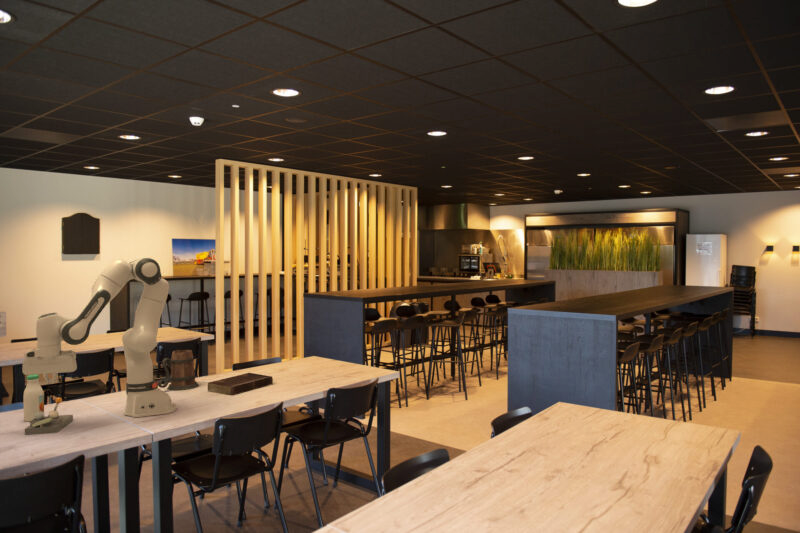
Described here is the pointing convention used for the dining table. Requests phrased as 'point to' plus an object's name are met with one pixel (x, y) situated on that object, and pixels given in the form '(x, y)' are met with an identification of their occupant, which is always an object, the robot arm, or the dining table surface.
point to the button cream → (53, 414)
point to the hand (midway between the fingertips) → (50, 383)
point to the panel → (49, 425)
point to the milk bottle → (33, 398)
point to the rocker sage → (42, 422)
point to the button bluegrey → (39, 415)
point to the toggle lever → (57, 402)
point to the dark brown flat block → (239, 383)
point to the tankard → (179, 371)
